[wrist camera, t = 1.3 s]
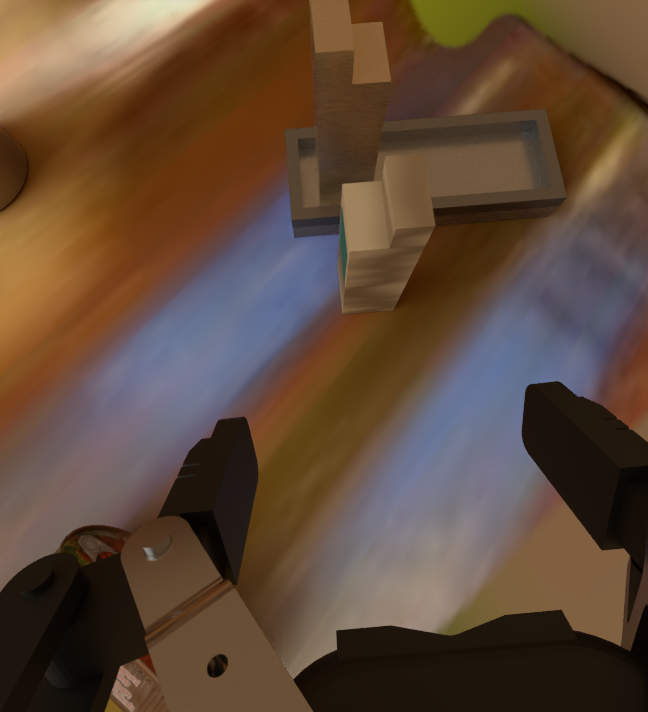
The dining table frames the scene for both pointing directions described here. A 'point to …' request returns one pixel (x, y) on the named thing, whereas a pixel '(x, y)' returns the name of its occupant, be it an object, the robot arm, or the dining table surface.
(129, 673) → the tin
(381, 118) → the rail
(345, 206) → the maple finger
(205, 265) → the dining table surface
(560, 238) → the dining table surface
